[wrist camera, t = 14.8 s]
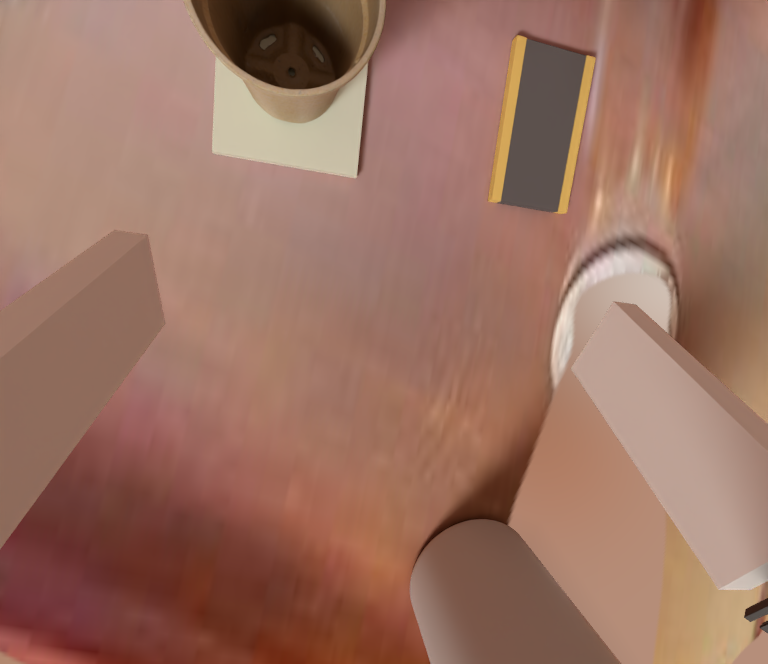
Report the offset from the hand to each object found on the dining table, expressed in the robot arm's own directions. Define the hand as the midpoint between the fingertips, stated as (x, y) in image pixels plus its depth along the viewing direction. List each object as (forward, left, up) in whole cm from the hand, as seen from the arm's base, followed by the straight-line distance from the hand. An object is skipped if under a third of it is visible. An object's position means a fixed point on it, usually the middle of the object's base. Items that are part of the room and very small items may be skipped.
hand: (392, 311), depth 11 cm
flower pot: (+4, -14, -19) cm, 24 cm away
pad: (+4, -14, -19) cm, 24 cm away
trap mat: (-15, -14, -19) cm, 28 cm away
